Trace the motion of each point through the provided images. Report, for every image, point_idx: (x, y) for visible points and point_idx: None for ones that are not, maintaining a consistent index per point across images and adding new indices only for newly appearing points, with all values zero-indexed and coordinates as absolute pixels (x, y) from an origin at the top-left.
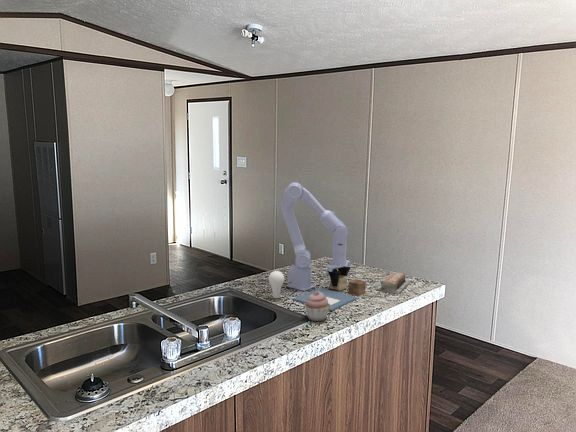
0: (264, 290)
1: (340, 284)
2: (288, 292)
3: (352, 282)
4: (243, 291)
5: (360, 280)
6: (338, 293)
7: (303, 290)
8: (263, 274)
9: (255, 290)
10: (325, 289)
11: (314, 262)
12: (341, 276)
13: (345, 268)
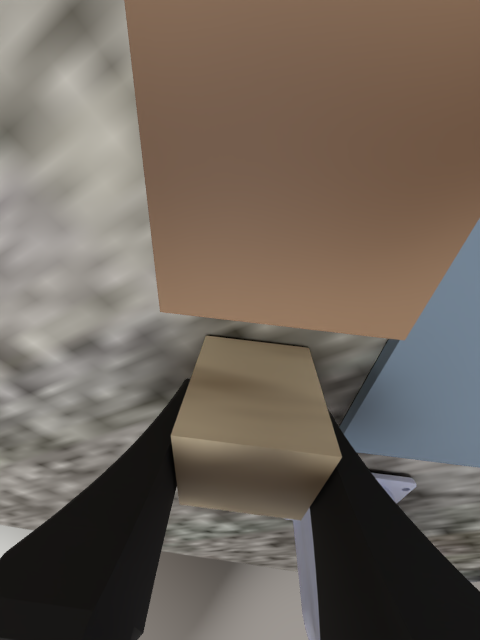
0: (444, 545)
1: (315, 390)
2: (450, 505)
3: (451, 253)
4: (474, 566)
5: (169, 143)
6: (435, 324)
7: (414, 483)
8: (261, 563)
9: (452, 555)
10: (356, 422)
11: (21, 522)
12: (223, 470)
13: (109, 626)
